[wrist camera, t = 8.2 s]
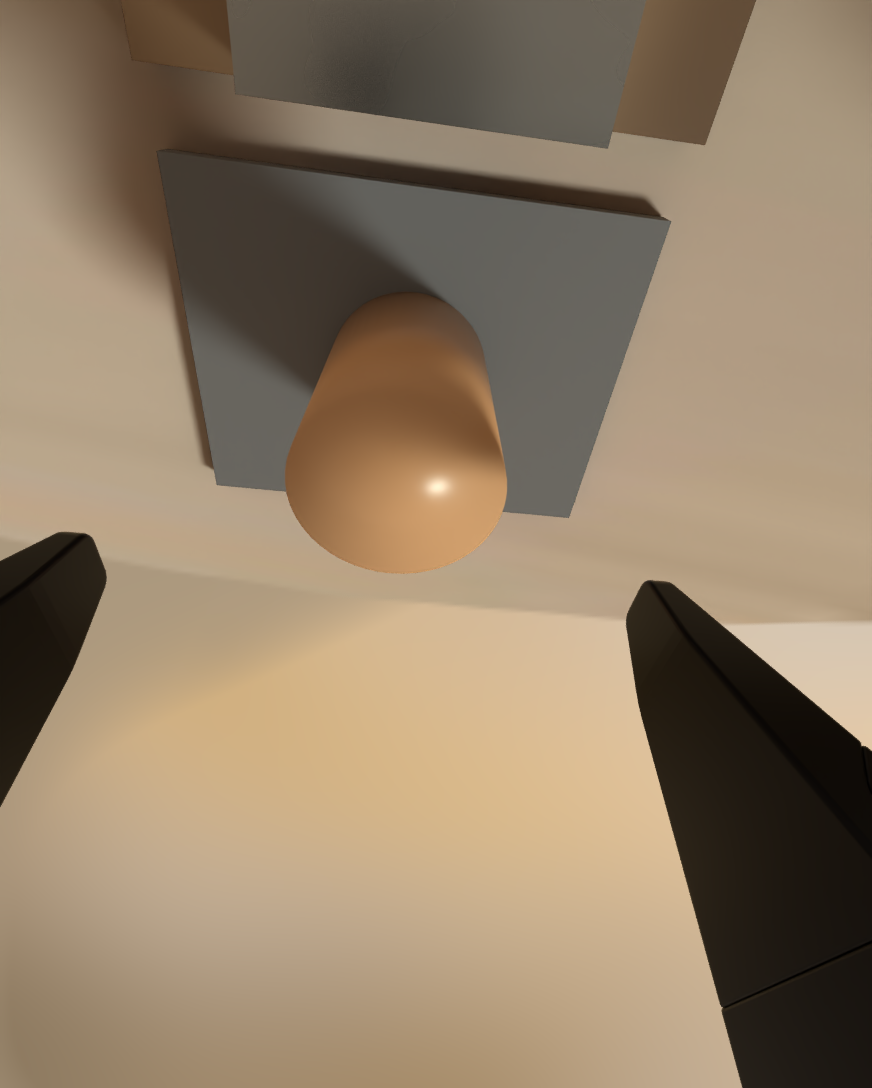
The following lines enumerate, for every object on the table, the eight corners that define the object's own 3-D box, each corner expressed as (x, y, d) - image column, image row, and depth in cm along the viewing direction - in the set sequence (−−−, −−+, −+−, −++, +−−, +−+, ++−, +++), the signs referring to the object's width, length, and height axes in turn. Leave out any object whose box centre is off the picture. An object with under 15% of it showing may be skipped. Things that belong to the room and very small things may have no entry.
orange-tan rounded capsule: (498, 302, 14) (529, 402, 9) (472, 448, 17) (486, 581, 12) (330, 281, 14) (276, 374, 9) (331, 434, 16) (291, 565, 12)
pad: (662, 217, 13) (671, 221, 13) (565, 507, 19) (569, 517, 19) (167, 149, 12) (156, 150, 12) (222, 475, 18) (217, 485, 18)
